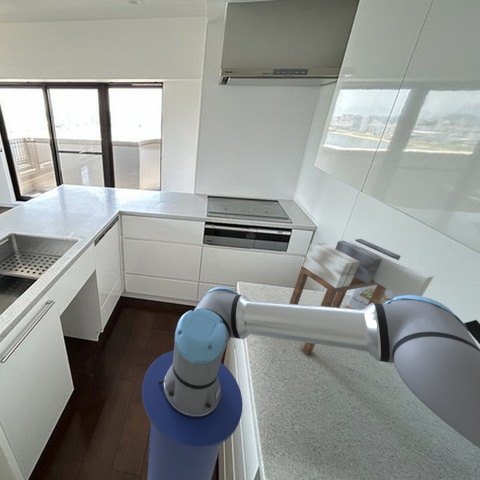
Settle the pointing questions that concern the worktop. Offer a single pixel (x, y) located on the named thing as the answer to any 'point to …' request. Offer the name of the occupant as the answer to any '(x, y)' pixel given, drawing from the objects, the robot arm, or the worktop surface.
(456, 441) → the worktop surface
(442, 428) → the worktop surface
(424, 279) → the white book
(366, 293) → the cracker box
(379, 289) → the wooden side table
